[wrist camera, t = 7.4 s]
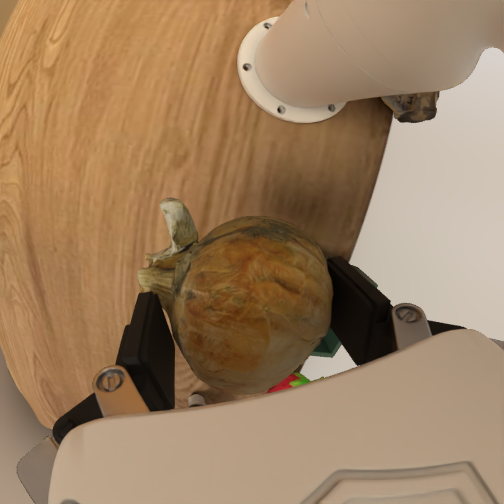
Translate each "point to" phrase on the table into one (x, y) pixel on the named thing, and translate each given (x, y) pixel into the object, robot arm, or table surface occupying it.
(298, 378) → the strawberry
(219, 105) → the table surface
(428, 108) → the stone tool
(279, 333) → the onion
